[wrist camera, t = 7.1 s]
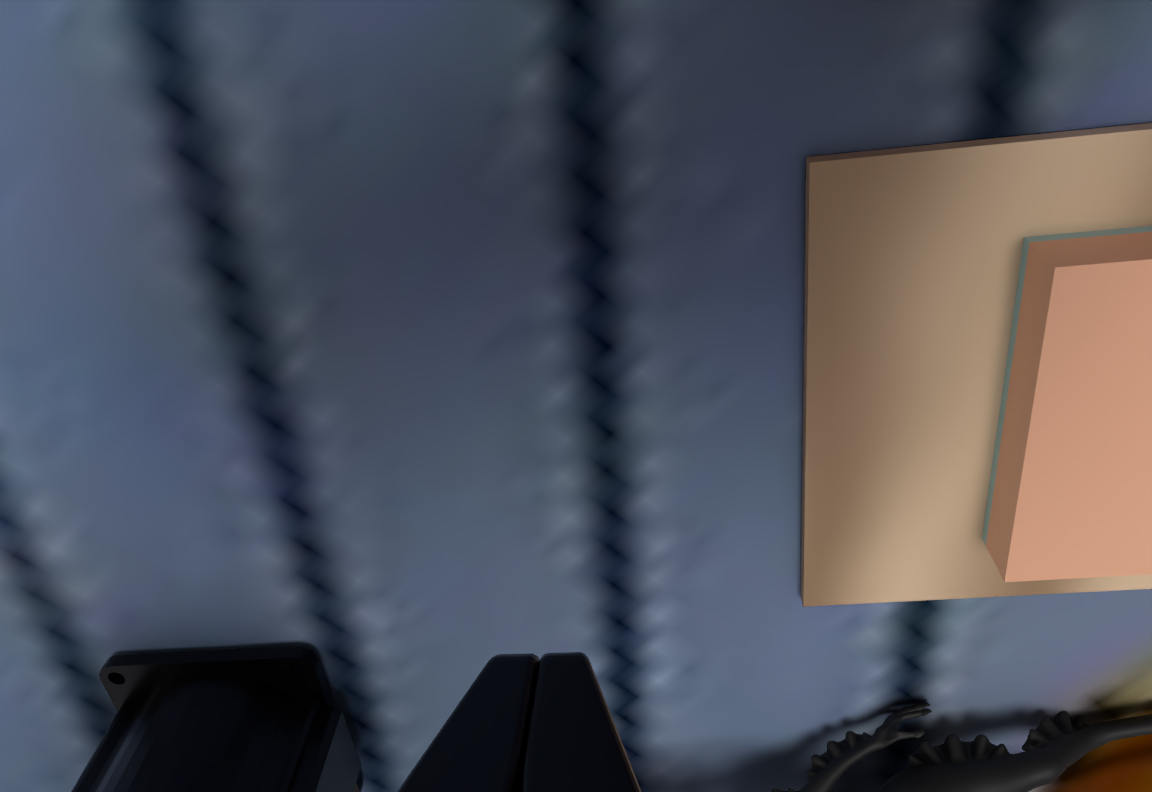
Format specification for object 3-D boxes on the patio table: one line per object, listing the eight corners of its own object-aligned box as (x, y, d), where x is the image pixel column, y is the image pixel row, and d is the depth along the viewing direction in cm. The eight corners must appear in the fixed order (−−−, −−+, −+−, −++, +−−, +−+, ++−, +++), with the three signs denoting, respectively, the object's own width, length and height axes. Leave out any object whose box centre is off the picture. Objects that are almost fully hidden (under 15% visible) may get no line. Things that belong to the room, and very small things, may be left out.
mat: (800, 596, 25) (803, 606, 24) (806, 157, 19) (809, 162, 18) (1359, 566, 23) (1370, 576, 23) (1561, 81, 17) (1580, 87, 17)
